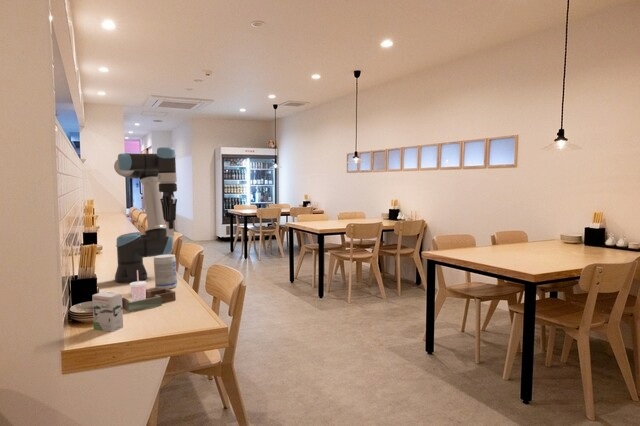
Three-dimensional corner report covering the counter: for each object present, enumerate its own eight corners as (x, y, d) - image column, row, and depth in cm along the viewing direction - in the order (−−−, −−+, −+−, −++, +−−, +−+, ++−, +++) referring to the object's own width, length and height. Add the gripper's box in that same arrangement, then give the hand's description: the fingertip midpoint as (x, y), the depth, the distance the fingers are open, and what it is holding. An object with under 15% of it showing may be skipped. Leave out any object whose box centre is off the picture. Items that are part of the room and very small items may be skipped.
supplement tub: (179, 287, 197) (178, 256, 196) (158, 291, 192) (156, 258, 191) (174, 283, 205) (172, 253, 204) (153, 287, 200) (151, 255, 199)
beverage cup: (141, 307, 166) (139, 272, 165) (127, 307, 168) (125, 271, 167) (151, 303, 172) (149, 268, 171) (137, 302, 174) (135, 268, 173)
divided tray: (95, 305, 171) (95, 297, 170) (160, 293, 188) (160, 285, 187) (109, 316, 156) (109, 307, 156) (178, 301, 173) (178, 293, 173)
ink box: (92, 329, 142) (90, 294, 142) (105, 324, 147) (103, 290, 146) (112, 332, 139) (110, 296, 138) (124, 327, 144) (122, 292, 143)
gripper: (153, 183, 191) (156, 235, 193) (164, 182, 181) (167, 238, 183) (170, 182, 196) (172, 234, 198) (182, 182, 186) (184, 236, 188)
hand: (170, 236), depth 191 cm, fingers closed
